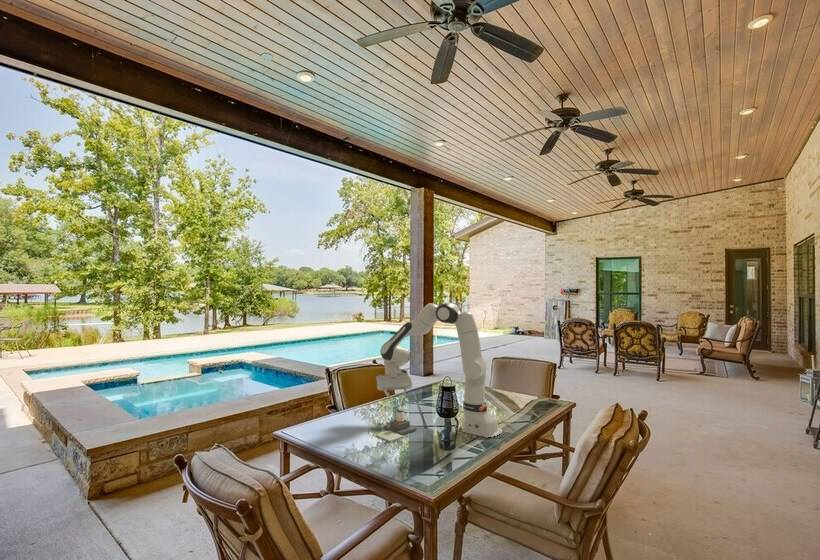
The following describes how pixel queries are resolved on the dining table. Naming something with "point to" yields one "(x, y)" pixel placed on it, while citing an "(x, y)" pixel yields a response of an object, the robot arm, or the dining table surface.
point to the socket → (400, 427)
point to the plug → (400, 416)
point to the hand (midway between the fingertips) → (396, 395)
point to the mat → (389, 436)
